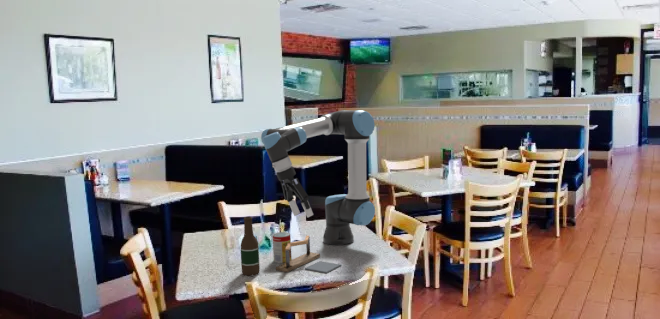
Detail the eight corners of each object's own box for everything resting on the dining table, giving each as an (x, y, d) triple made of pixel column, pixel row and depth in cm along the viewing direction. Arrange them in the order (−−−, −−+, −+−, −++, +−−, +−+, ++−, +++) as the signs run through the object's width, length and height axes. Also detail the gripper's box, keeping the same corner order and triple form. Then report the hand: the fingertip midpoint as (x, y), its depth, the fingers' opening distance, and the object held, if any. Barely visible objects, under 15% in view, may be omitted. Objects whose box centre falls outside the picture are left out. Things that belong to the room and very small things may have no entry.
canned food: (294, 258, 256) (293, 232, 255) (286, 264, 249) (285, 237, 248) (279, 257, 260) (278, 231, 258) (270, 262, 252) (269, 235, 251)
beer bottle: (263, 270, 241) (260, 215, 238) (255, 276, 234) (251, 219, 231) (246, 269, 244) (243, 214, 240) (238, 275, 236) (234, 218, 233)
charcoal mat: (320, 262, 250) (319, 260, 250) (341, 265, 244) (341, 264, 244) (305, 269, 241) (305, 268, 241) (326, 273, 235) (326, 272, 235)
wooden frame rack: (309, 255, 261) (308, 234, 260) (320, 256, 258) (319, 236, 256) (276, 270, 241) (274, 247, 240) (287, 272, 238) (286, 249, 237)
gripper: (265, 173, 245) (284, 217, 248) (288, 171, 223) (308, 220, 226) (280, 166, 249) (299, 210, 252) (304, 164, 226) (324, 212, 229)
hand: (303, 215), depth 239 cm, fingers open, 13 cm apart
